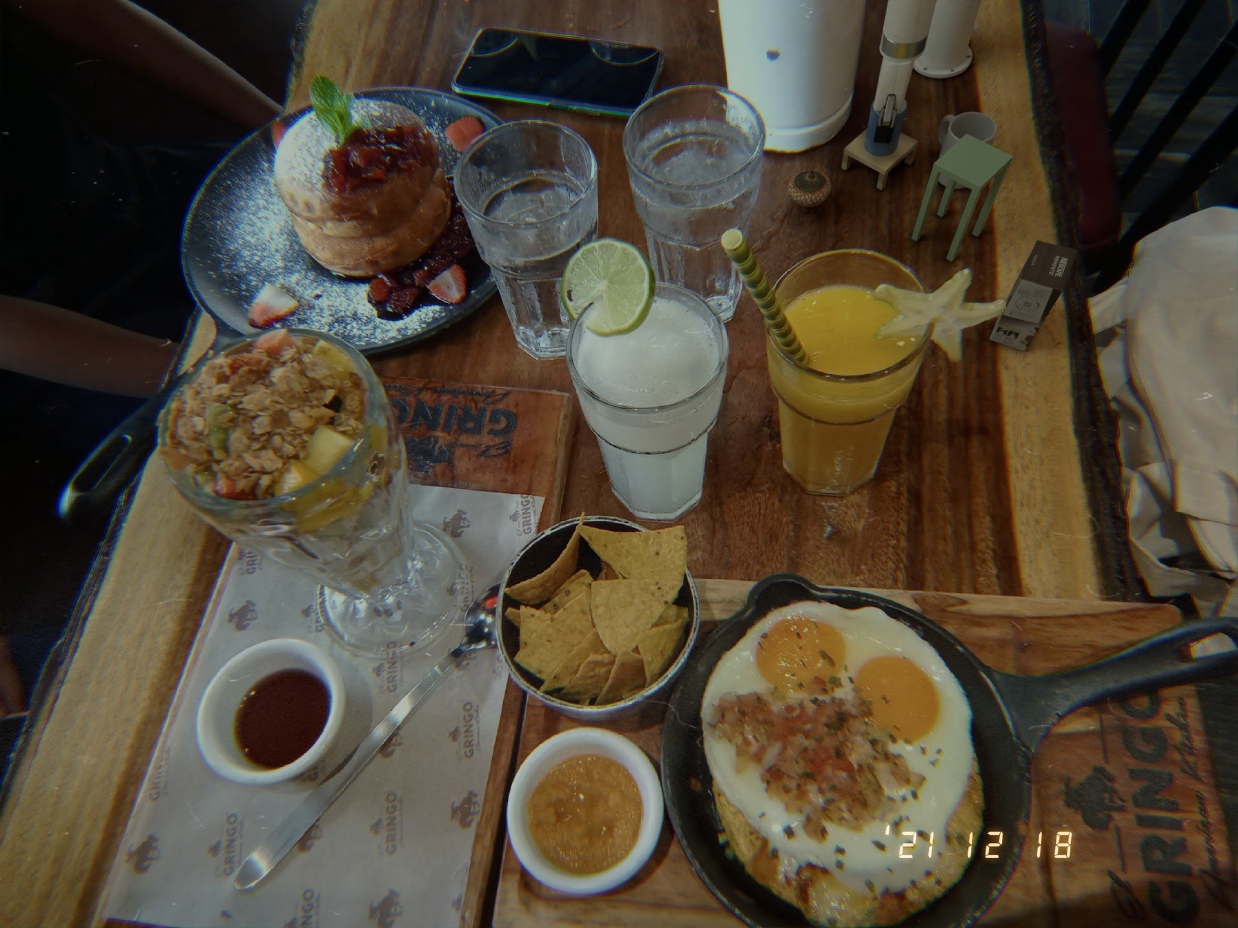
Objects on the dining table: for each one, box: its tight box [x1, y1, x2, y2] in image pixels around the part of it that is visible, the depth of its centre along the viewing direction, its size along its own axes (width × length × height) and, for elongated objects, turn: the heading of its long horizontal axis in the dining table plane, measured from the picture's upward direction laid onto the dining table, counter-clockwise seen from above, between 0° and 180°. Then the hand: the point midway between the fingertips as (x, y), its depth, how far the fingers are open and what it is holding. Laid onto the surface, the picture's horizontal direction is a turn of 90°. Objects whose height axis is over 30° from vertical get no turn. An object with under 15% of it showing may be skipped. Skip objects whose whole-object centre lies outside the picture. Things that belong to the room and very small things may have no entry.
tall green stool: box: [911, 134, 1014, 262], centre depth 131 cm, size 9×9×18 cm
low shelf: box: [840, 128, 919, 191], centre depth 147 cm, size 10×10×5 cm
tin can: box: [864, 98, 908, 156], centre depth 141 cm, size 6×6×9 cm
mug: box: [937, 111, 998, 190], centre depth 141 cm, size 12×8×11 cm
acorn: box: [787, 169, 832, 212], centre depth 142 cm, size 8×8×10 cm
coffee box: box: [989, 239, 1079, 352], centre depth 121 cm, size 9×6×16 cm
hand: (885, 126), depth 141 cm, fingers open, 7 cm apart
